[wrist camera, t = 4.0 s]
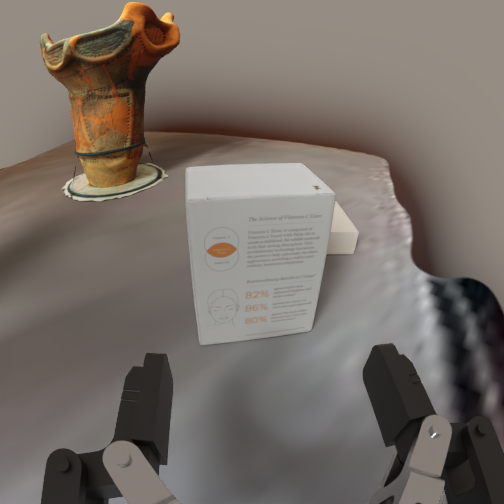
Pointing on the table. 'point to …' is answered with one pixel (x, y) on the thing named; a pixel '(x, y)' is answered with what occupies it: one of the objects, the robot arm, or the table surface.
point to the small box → (256, 248)
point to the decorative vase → (111, 99)
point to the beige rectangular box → (342, 233)
